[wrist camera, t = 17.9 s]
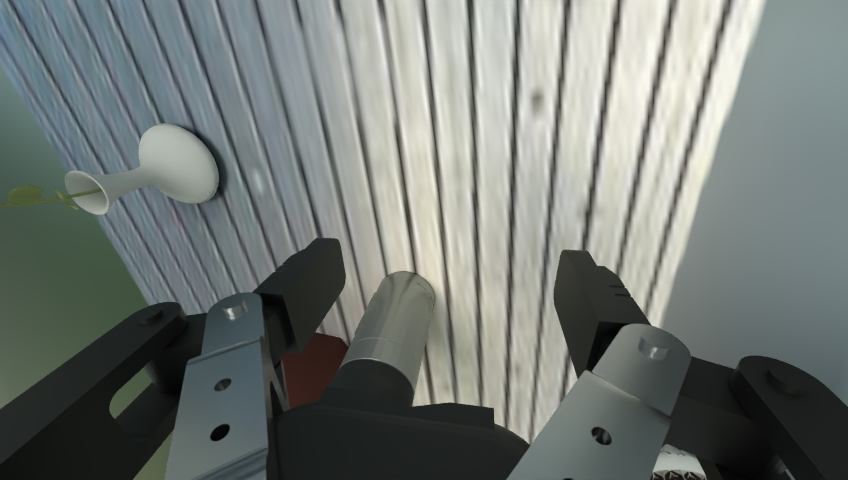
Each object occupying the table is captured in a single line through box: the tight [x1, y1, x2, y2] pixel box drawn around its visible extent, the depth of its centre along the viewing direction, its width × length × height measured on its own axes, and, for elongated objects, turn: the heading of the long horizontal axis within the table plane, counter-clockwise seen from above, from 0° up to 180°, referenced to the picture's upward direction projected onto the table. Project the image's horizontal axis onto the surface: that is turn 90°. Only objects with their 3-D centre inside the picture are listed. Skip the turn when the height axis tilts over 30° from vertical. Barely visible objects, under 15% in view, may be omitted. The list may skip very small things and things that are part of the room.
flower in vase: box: [0, 124, 219, 215], centre depth 35 cm, size 13×11×25 cm
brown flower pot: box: [281, 332, 349, 409], centre depth 51 cm, size 24×22×25 cm
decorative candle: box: [650, 443, 708, 480], centre depth 37 cm, size 9×9×25 cm
